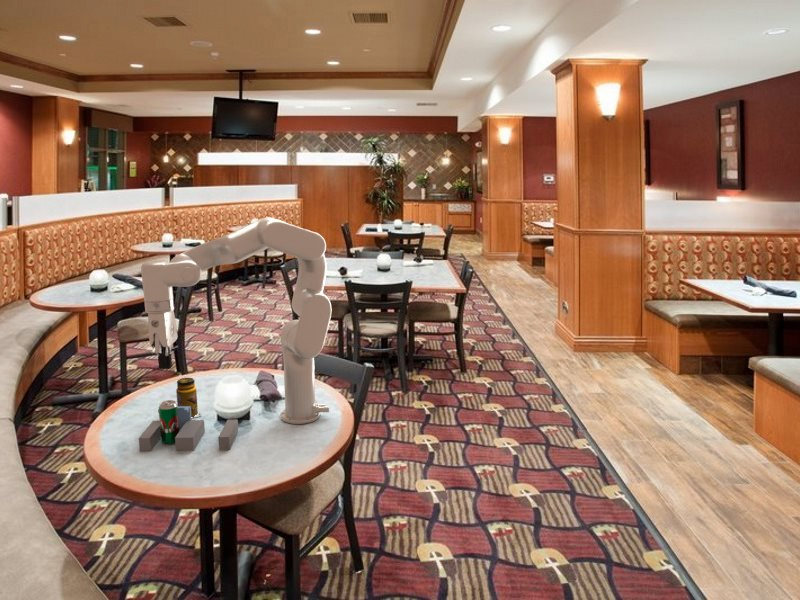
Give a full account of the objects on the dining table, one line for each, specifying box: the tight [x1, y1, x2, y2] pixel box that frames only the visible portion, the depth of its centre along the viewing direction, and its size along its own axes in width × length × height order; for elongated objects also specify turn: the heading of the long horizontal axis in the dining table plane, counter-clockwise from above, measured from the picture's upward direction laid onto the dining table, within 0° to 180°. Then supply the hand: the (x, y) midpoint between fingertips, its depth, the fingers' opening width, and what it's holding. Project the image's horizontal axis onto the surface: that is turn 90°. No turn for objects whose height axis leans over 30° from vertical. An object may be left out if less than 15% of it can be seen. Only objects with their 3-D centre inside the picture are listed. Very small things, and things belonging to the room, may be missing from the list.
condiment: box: [175, 377, 199, 417], centre depth 198 cm, size 7×8×12 cm
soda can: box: [158, 399, 179, 446], centre depth 179 cm, size 5×5×12 cm
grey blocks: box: [138, 406, 239, 452], centre depth 180 cm, size 25×13×8 cm, turn 93°
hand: (165, 368), depth 176 cm, fingers closed
